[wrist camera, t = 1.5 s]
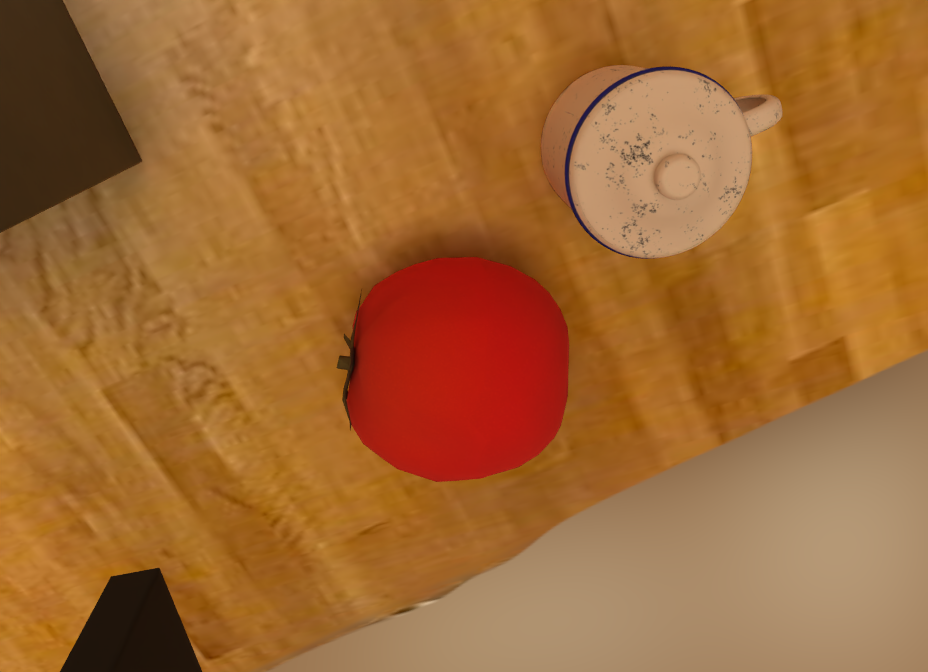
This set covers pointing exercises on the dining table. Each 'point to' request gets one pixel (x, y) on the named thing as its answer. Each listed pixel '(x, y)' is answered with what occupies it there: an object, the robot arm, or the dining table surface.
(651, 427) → the dining table surface
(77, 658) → the robot arm
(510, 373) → the tomato
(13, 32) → the stand
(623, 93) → the teacup with lid
